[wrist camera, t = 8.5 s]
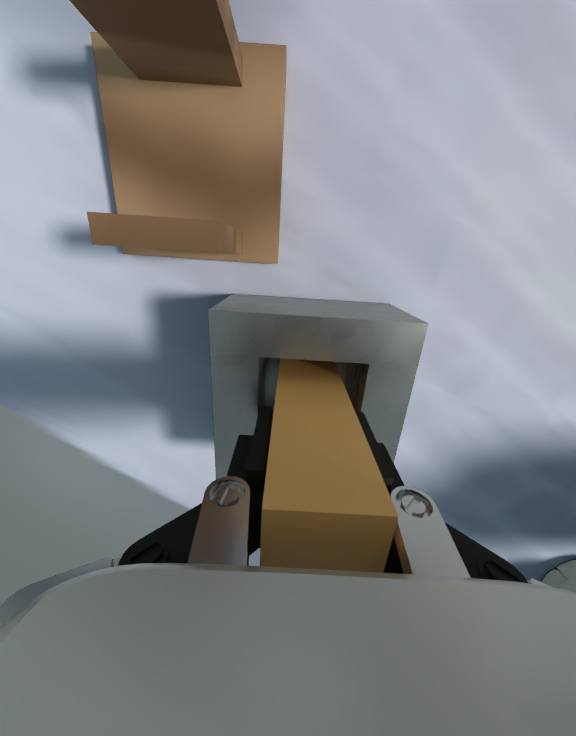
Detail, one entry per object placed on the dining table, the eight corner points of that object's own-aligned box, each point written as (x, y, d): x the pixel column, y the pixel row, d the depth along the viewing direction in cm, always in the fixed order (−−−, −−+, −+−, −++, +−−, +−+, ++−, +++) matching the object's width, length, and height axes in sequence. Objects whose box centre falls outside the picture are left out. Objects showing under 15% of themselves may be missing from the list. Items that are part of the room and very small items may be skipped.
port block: (232, 293, 16) (208, 309, 11) (389, 303, 16) (428, 323, 11) (234, 439, 20) (216, 495, 15) (361, 446, 20) (383, 505, 15)
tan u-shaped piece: (102, 45, 12) (-49, -121, 7) (286, 58, 12) (281, -97, 7) (131, 253, 15) (44, 253, 10) (277, 263, 15) (269, 267, 10)
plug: (280, 358, 15) (261, 508, 6) (334, 361, 15) (398, 516, 6) (276, 426, 17) (257, 629, 8) (325, 429, 17) (366, 634, 8)
